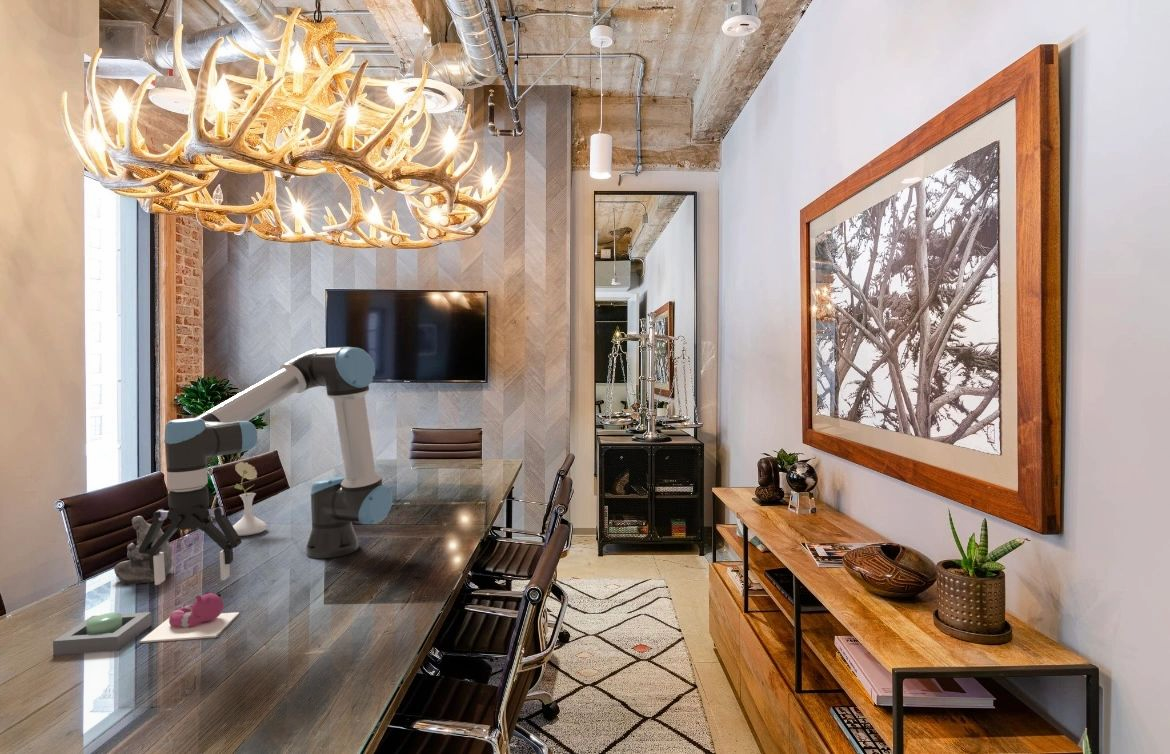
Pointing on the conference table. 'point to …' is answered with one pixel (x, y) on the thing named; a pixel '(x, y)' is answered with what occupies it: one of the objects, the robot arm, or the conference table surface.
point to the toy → (198, 611)
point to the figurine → (141, 557)
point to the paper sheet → (190, 630)
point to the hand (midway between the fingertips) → (193, 580)
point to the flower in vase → (247, 504)
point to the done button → (104, 623)
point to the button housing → (101, 636)
